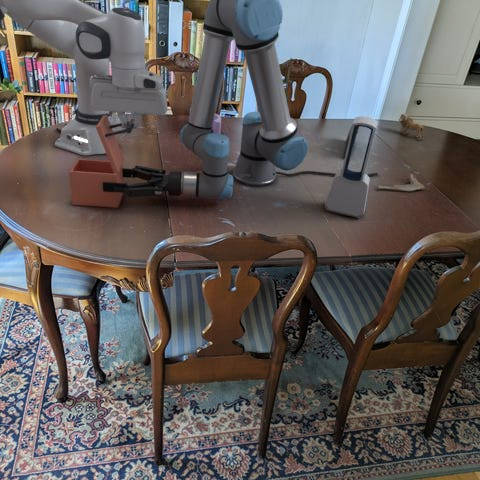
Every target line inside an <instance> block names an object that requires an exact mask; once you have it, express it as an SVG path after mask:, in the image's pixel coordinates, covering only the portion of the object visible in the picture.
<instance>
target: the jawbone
mask: <svg viewBox="0 0 480 480" xmlns="http://www.w3.org/2000/svg"><path fill="white" fill-rule="evenodd" d="M409 179H410V184H409V183H408V184H393V186H388V185H386V186H385V185H380V184H378V185H377V186H376V188H377V189H380V190H391V191H400V192H409V193H410V192H415V191H419V190H425V189H426V187H425V185H424V184H422V183H421V182H419V181H418V179H417V177H415V176H414V174H413V173H410V174H409Z"/></svg>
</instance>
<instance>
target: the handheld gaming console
mask: <svg viewBox="0 0 480 480" xmlns="http://www.w3.org/2000/svg"><path fill="white" fill-rule="evenodd" d="M352 125H353V123H352V124H351V127H350V129H349V131H348V133H347V135H346V136H347V137H346V141H345V146H344V150H343V154H342V158H343V159H345V155H346V151H347V146H348V142H349V138H350V133H351V129H352ZM359 129H360V126H359V127H357V131H356V136H355V140H354V144H353V147H354V145H355V144H356V141H357V136H358V133H359Z"/></svg>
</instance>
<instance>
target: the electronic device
mask: <svg viewBox="0 0 480 480" xmlns="http://www.w3.org/2000/svg"><path fill="white" fill-rule="evenodd" d="M352 124H353V125H352ZM352 124H351V127H352V129H351V128H350V129H351V133H350V138H349V142H348V146H347V151H346V155H345V158H344V161H343V164H342V168H341V169H338V170H337V171H336V173H335V174H336V175H335V176H334V177H333V180H332V182H331V186H330V188H329V192H328V195H327V197H326V201H325V203H324V208H325V210H326V211H327V212H330V213H334V214H339V215H343V216H347V217H350V218H351V217H352V218H356V219H360V218H362V217H363V216H364V215H365V211H366V206H367V201H368V194H369V187H370V181H371V180H370V179H371V177H370V176H368V175H367V174H368V173H366V170H367V167H368V163H369V160H370V159H369V158H370V155H371V151H372V147H373V144H374V140H375V136H376V133H377V129H378V124H379V121H378V120H376V119H375V118H372V117H370V116H361V115H359V116H356V117H355V118H354V120H353V122H352ZM357 127H359V128H360V127H362V128H367V129H369V130H370V133H369V138H368V141H367V145H366V150H365V154H364V157H363V161H362V164H361V169H360V171H354V170H351V169H349V166H350V162H351V161H350V160H351V156H352V153H353V148H354V146H353V144H354V145H355V143H354V140H355V136H356V131H357ZM356 137H357V136H356ZM355 141H356V140H355Z"/></svg>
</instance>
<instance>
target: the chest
mask: <svg viewBox="0 0 480 480" xmlns="http://www.w3.org/2000/svg"><path fill="white" fill-rule="evenodd" d="M122 168H123V164H122V165H121V167H120V170H119V172H118V173H114V172H113V169H112V167H111V164H110V162H109V160H102V159H91V158H77V159H76V160H75V161H74V163H73V165H72V166H71V168H70V169H69V171H68V175H69V184H70V193H71V194H70V195H71V204H72V205H73V206H84V207H85V206H87V207H102V208H104V207H105V208H115V209H117V208H119V206H120V203H121V201H122V198H123V195H124V193H119V192H103V182H110V183H124V177H123V174H122Z"/></svg>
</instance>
